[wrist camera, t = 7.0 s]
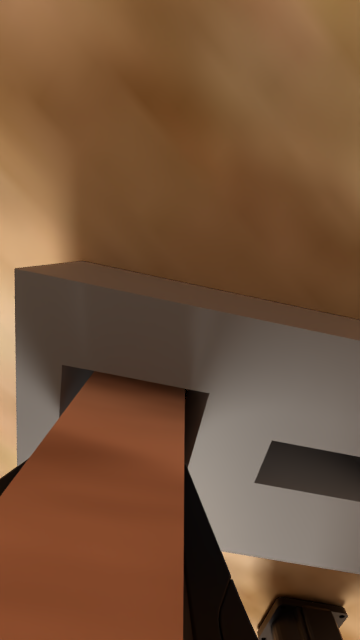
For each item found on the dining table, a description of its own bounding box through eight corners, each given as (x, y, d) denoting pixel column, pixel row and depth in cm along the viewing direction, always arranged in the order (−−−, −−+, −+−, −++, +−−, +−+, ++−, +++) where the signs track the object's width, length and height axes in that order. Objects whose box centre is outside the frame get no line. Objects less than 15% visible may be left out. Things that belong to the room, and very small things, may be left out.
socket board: (316, 481, 16) (370, 576, 12) (69, 435, 16) (18, 517, 11) (398, 328, 13) (524, 375, 8) (81, 260, 12) (14, 268, 7)
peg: (169, 443, 12) (125, 942, 3) (93, 429, 12) (-157, 913, 3) (184, 378, 11) (181, 892, 2) (101, 361, 11) (-262, 843, 2)
